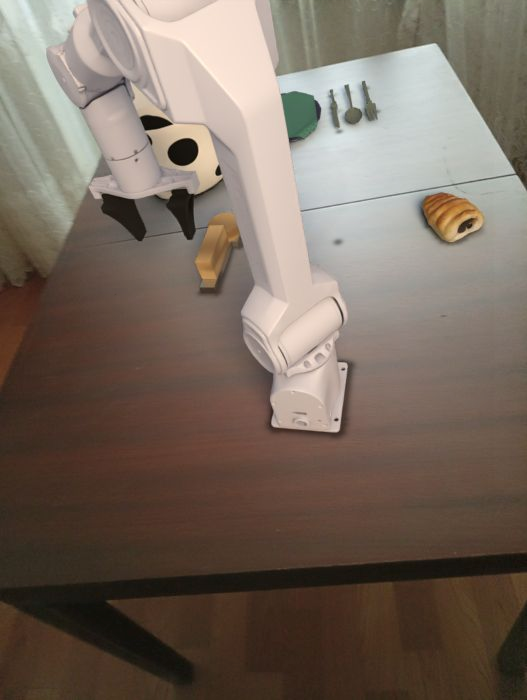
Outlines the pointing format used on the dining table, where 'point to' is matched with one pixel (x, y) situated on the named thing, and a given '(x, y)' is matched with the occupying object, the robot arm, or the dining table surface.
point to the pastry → (451, 216)
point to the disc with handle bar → (216, 244)
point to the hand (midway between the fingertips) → (166, 235)
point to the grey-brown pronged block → (213, 284)
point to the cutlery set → (317, 112)
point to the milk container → (179, 144)
